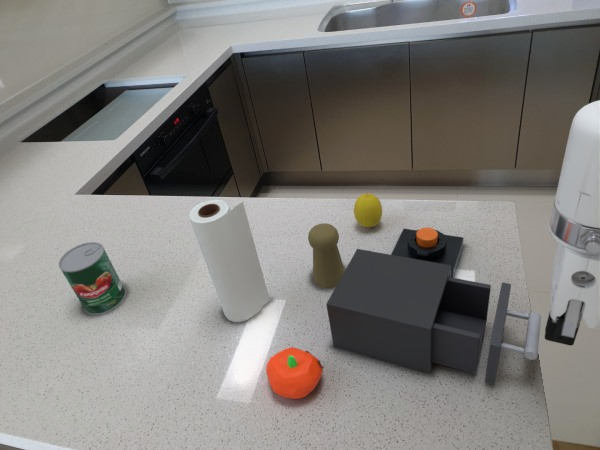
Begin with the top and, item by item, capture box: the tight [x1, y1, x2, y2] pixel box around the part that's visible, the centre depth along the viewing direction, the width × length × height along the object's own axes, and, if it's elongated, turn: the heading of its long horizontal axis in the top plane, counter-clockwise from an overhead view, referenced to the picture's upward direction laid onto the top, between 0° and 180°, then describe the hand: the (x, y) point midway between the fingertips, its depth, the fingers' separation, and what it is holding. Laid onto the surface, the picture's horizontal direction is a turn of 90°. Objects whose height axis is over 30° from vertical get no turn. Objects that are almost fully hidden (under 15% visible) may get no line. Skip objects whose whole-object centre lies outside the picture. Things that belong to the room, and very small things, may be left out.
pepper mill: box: [307, 223, 346, 289], centre depth 80 cm, size 6×6×11 cm
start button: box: [416, 227, 438, 248], centre depth 81 cm, size 4×4×2 cm
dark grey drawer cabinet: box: [326, 248, 451, 375], centre depth 69 cm, size 15×13×10 cm
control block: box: [390, 228, 464, 278], centre depth 82 cm, size 11×9×4 cm
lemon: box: [353, 192, 383, 228], centre depth 91 cm, size 6×6×8 cm
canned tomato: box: [58, 241, 127, 316], centre depth 84 cm, size 8×8×11 cm
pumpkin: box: [265, 346, 324, 400], centre depth 64 cm, size 7×8×6 cm
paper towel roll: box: [188, 199, 271, 323], centre depth 73 cm, size 7×6×21 cm
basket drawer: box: [432, 277, 542, 386], centre depth 64 cm, size 18×11×8 cm, turn 64°
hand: (558, 337), depth 58 cm, fingers closed
